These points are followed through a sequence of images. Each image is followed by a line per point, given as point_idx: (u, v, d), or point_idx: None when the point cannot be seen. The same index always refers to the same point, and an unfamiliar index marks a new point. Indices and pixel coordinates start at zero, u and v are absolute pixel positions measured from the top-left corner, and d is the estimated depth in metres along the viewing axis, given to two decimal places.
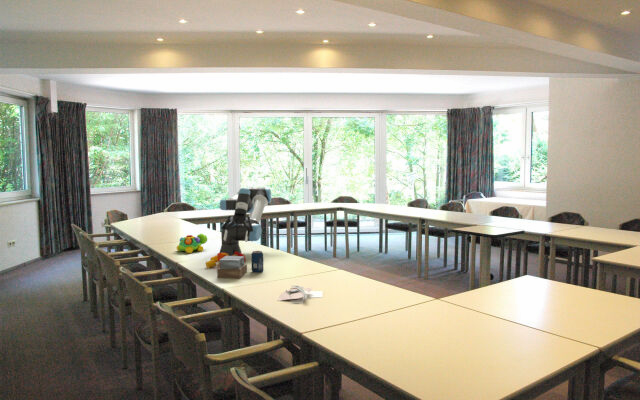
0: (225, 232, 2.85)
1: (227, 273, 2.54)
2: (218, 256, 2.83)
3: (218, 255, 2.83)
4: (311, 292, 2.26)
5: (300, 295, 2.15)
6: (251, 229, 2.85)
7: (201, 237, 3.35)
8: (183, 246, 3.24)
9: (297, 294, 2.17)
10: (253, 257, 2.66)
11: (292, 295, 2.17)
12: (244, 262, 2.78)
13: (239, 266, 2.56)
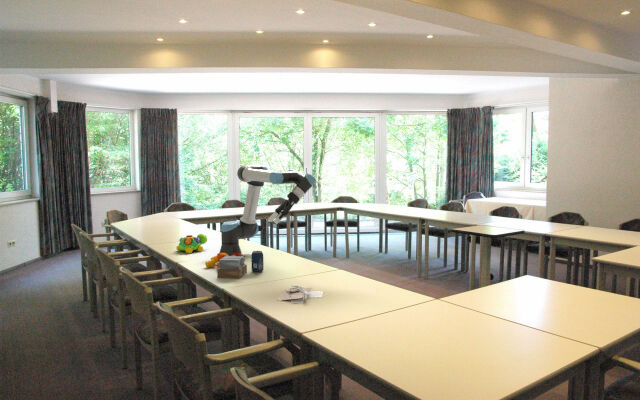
0: (281, 218, 2.66)
1: (227, 273, 2.54)
2: (218, 256, 2.83)
3: (218, 255, 2.82)
4: (311, 292, 2.27)
5: (300, 295, 2.15)
6: None
7: (201, 237, 3.34)
8: (183, 246, 3.23)
9: (297, 294, 2.17)
10: (253, 257, 2.66)
11: (292, 295, 2.17)
12: None
13: (239, 266, 2.56)
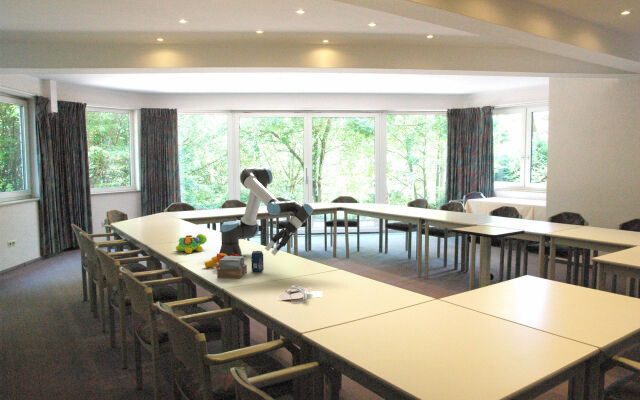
0: (279, 249, 2.65)
1: (227, 273, 2.54)
2: (217, 256, 2.82)
3: (217, 255, 2.81)
4: (311, 292, 2.27)
5: (300, 295, 2.15)
6: None
7: (200, 237, 3.34)
8: (182, 246, 3.23)
9: (297, 294, 2.17)
10: (253, 257, 2.66)
11: (292, 295, 2.17)
12: None
13: (239, 266, 2.56)
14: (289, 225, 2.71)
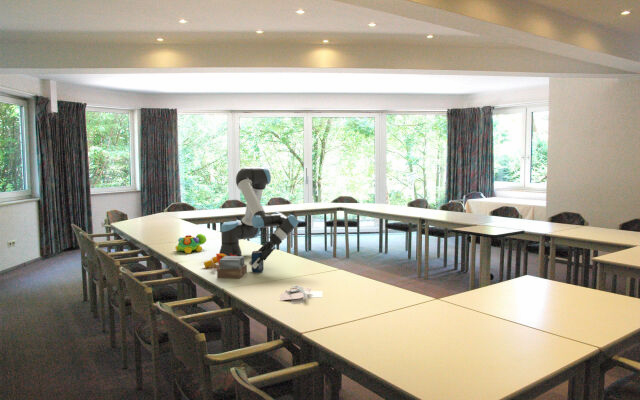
0: None
1: (227, 273, 2.54)
2: (217, 257, 2.82)
3: (216, 256, 2.81)
4: (311, 292, 2.27)
5: (300, 295, 2.15)
6: None
7: (200, 237, 3.34)
8: (182, 246, 3.23)
9: (297, 294, 2.18)
10: (253, 257, 2.66)
11: (292, 295, 2.17)
12: None
13: (239, 266, 2.56)
14: (273, 237, 2.68)
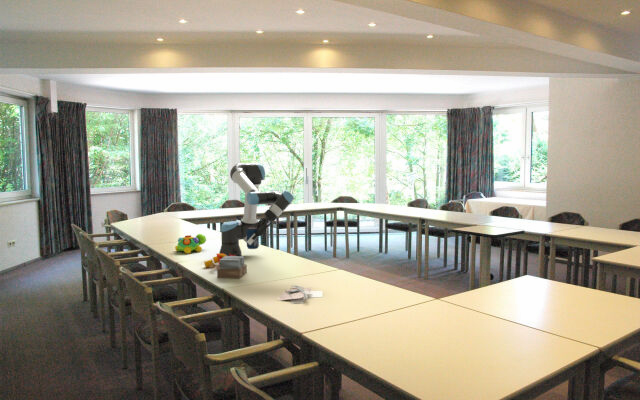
0: None
1: (227, 273, 2.54)
2: (217, 256, 2.82)
3: (217, 255, 2.82)
4: (311, 292, 2.27)
5: (300, 295, 2.15)
6: None
7: (200, 237, 3.33)
8: (181, 246, 3.23)
9: (297, 294, 2.18)
10: (248, 233, 2.62)
11: (292, 295, 2.17)
12: None
13: (239, 266, 2.56)
14: (269, 213, 2.65)
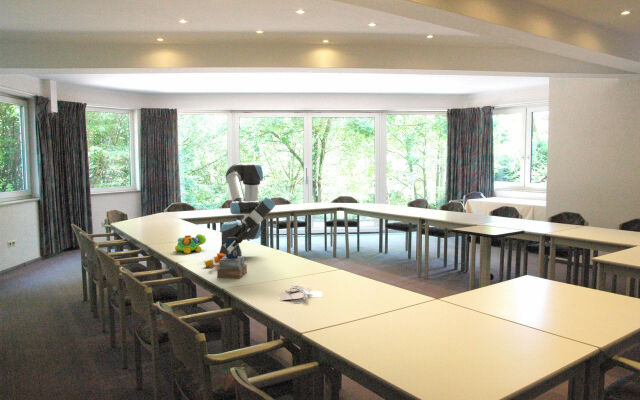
0: (235, 246, 2.55)
1: (227, 273, 2.54)
2: None
3: None
4: (311, 292, 2.27)
5: (300, 295, 2.15)
6: None
7: (199, 237, 3.33)
8: (181, 246, 3.22)
9: (297, 294, 2.18)
10: (227, 243, 2.57)
11: (292, 295, 2.17)
12: None
13: (239, 266, 2.56)
14: (248, 220, 2.59)
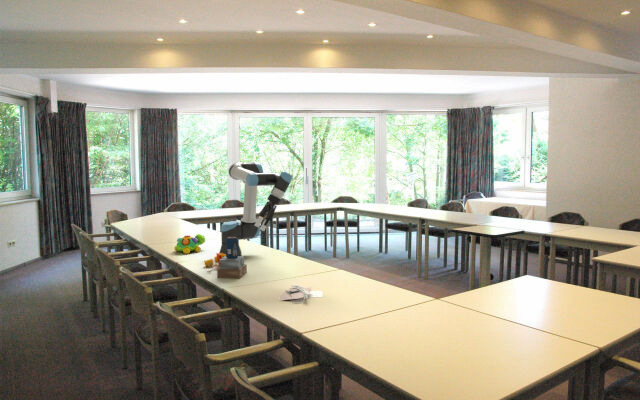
0: (267, 224, 2.62)
1: (227, 273, 2.54)
2: None
3: None
4: (311, 292, 2.27)
5: (301, 295, 2.16)
6: None
7: (199, 237, 3.33)
8: (180, 246, 3.22)
9: (297, 294, 2.18)
10: (227, 243, 2.57)
11: (292, 295, 2.17)
12: None
13: (239, 266, 2.56)
14: (271, 198, 2.66)
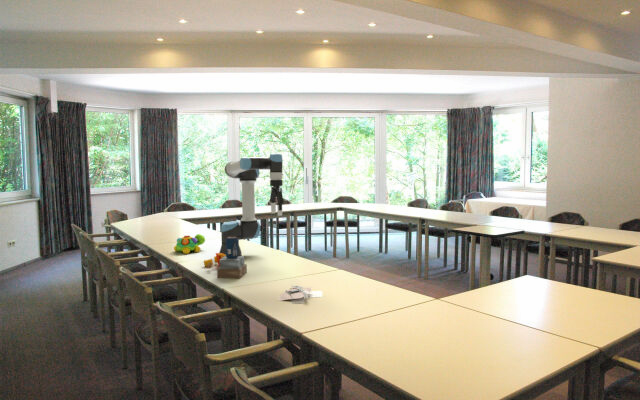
0: None
1: (227, 273, 2.54)
2: None
3: None
4: (311, 292, 2.27)
5: (301, 295, 2.16)
6: None
7: (199, 238, 3.32)
8: (180, 247, 3.22)
9: (297, 294, 2.18)
10: (227, 243, 2.57)
11: (293, 295, 2.17)
12: None
13: (239, 266, 2.56)
14: (273, 183, 2.72)
